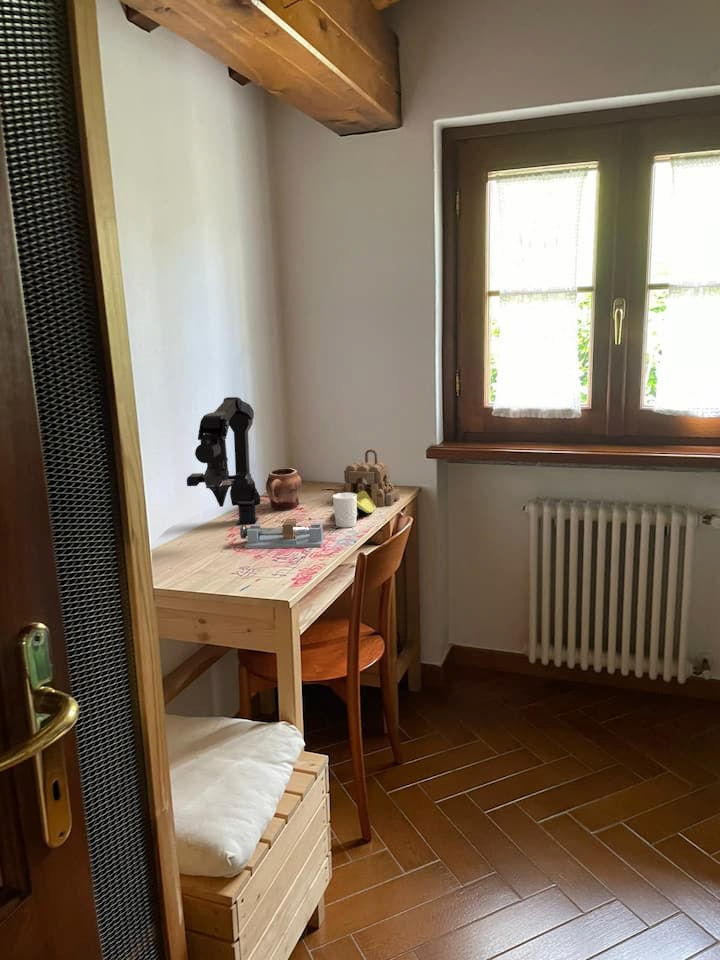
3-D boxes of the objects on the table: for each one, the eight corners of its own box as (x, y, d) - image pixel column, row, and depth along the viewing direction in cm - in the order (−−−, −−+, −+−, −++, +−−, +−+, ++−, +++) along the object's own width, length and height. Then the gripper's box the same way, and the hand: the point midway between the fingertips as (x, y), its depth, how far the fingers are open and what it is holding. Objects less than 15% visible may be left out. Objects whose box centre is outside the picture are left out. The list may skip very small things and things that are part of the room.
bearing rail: (252, 538, 231) (250, 523, 230) (324, 536, 229) (323, 521, 228) (245, 548, 221) (243, 532, 220) (320, 546, 220) (319, 530, 219)
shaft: (243, 536, 228) (242, 524, 227) (311, 535, 226) (310, 522, 225) (240, 540, 224) (239, 527, 223) (309, 539, 222) (308, 526, 222)
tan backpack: (332, 504, 268) (329, 454, 264) (347, 495, 281) (345, 447, 277) (389, 508, 260) (387, 456, 255) (401, 498, 273) (400, 449, 269)
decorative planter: (292, 516, 254) (289, 477, 251) (258, 515, 257) (256, 477, 253) (308, 501, 273) (306, 465, 270) (277, 501, 276) (274, 465, 272)
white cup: (335, 529, 237) (333, 499, 235) (333, 522, 245) (332, 493, 242) (359, 527, 238) (358, 497, 236) (356, 520, 245) (355, 491, 243)
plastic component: (343, 500, 264) (367, 488, 262) (352, 518, 264) (376, 506, 262) (331, 511, 245) (358, 498, 242) (342, 530, 245) (368, 517, 243)
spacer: (287, 536, 228) (286, 518, 227) (296, 535, 228) (295, 518, 227) (283, 542, 222) (282, 524, 221) (293, 542, 222) (292, 524, 220)
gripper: (178, 462, 213) (183, 514, 217) (241, 461, 212) (245, 512, 216) (189, 455, 224) (194, 504, 228) (249, 453, 223) (253, 503, 226)
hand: (221, 506), depth 224 cm, fingers closed
